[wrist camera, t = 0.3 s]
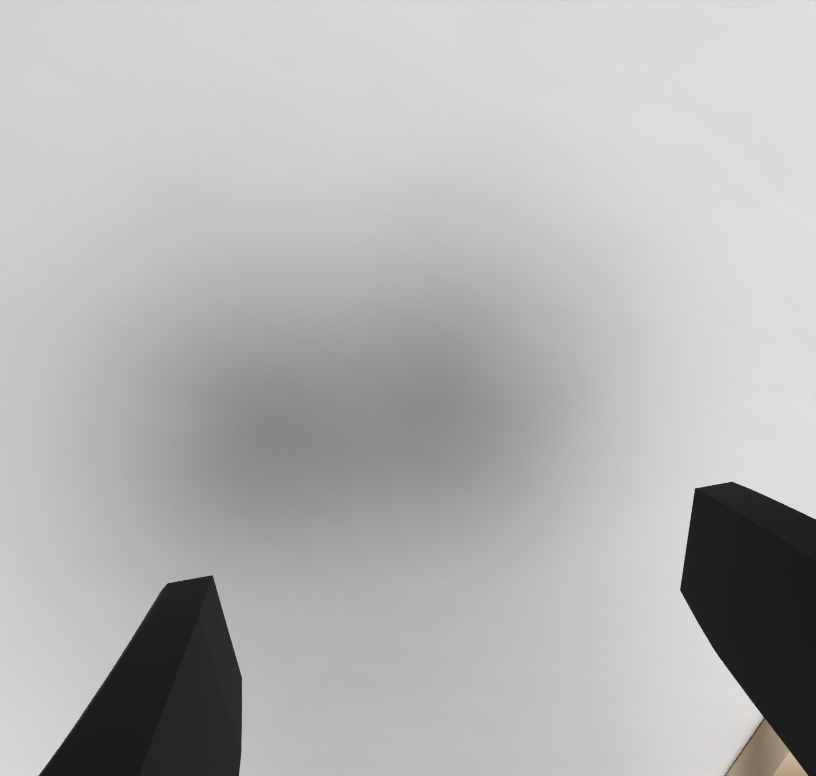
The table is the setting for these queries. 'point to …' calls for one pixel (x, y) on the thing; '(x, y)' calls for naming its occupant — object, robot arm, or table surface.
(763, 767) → the light wood rectangular frame
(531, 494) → the table surface
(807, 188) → the table surface
